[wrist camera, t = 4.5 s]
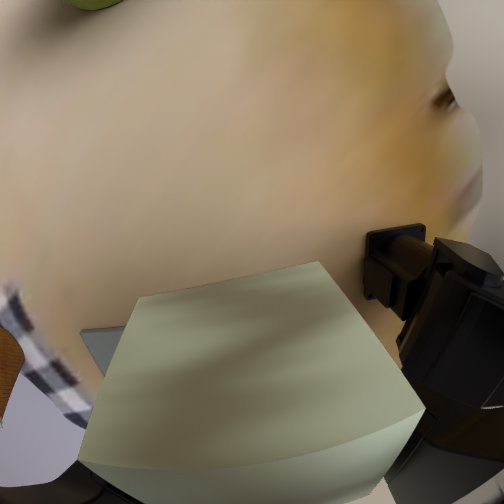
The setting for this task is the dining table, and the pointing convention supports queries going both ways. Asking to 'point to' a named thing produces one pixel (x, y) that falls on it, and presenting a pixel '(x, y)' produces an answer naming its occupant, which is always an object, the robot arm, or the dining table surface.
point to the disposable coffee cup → (8, 367)
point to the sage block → (250, 396)
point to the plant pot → (91, 3)
